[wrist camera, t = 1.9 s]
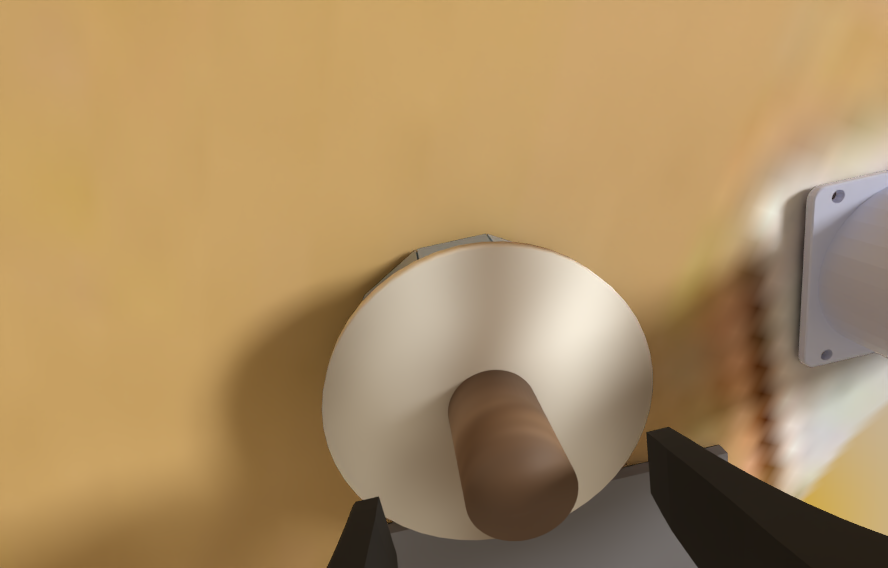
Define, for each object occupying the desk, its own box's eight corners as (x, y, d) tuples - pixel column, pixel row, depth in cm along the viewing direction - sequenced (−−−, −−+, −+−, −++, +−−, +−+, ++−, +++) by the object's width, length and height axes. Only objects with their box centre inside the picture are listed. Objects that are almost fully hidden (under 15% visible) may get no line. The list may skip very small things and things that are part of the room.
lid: (630, 207, 16) (728, 244, 11) (650, 485, 19) (729, 597, 15) (281, 284, 15) (236, 355, 11) (370, 552, 19) (364, 688, 15)
